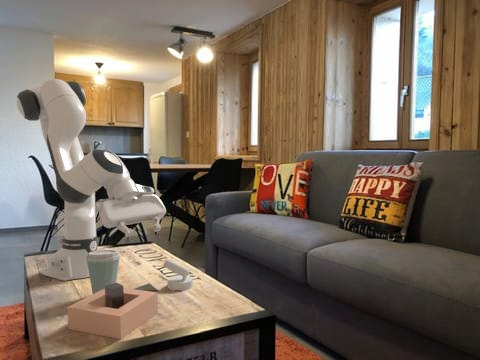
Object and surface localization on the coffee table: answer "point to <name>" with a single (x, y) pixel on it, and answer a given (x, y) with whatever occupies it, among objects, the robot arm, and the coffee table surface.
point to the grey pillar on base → (114, 296)
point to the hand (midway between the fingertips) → (144, 232)
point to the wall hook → (178, 276)
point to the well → (112, 313)
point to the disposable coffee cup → (102, 268)
